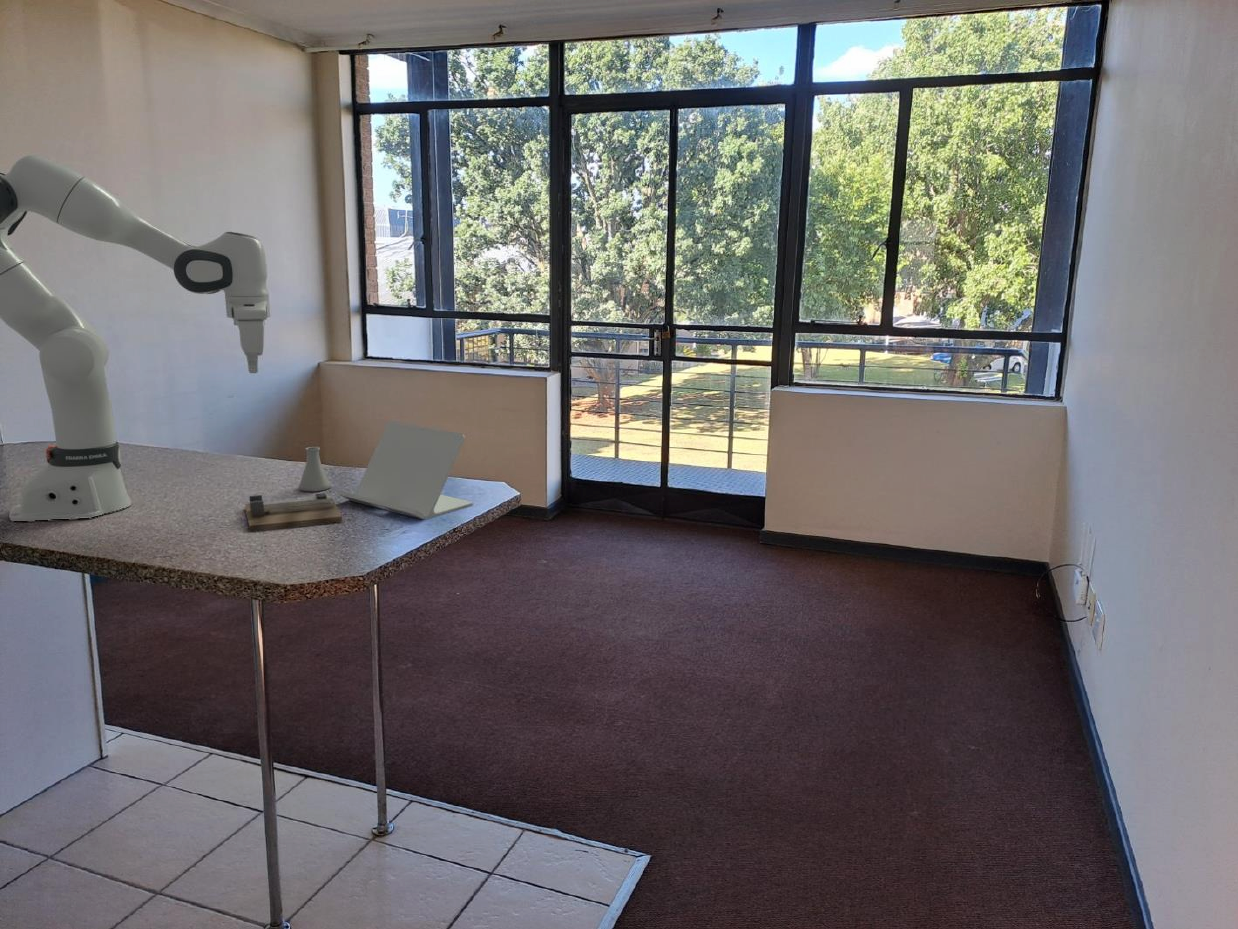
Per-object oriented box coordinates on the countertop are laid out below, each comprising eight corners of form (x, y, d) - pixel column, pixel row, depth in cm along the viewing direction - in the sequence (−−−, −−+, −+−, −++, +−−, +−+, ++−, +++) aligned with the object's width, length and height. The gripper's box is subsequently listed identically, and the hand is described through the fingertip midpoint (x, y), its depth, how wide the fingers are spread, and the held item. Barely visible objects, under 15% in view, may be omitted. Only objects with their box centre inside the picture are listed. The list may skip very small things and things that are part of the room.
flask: (310, 494, 206) (308, 452, 204) (293, 489, 210) (290, 448, 208) (337, 488, 212) (334, 447, 209) (319, 483, 216) (316, 443, 214)
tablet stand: (400, 488, 213) (397, 419, 209) (474, 505, 199) (472, 432, 195) (338, 504, 199) (333, 430, 195) (413, 524, 185) (410, 445, 181)
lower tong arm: (252, 517, 182) (250, 502, 182) (250, 510, 188) (249, 495, 187) (334, 509, 189) (333, 495, 189) (330, 502, 194) (330, 488, 194)
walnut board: (249, 531, 177) (249, 525, 177) (245, 508, 193) (245, 503, 193) (342, 521, 184) (341, 516, 184) (330, 500, 200) (330, 495, 200)
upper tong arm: (252, 513, 183) (251, 503, 183) (251, 509, 187) (250, 499, 186) (332, 505, 190) (331, 496, 190) (330, 501, 193) (329, 492, 193)
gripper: (230, 307, 199) (236, 367, 202) (234, 311, 181) (239, 378, 184) (260, 306, 202) (265, 366, 205) (266, 311, 184) (271, 377, 187)
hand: (253, 372), depth 194 cm, fingers closed
